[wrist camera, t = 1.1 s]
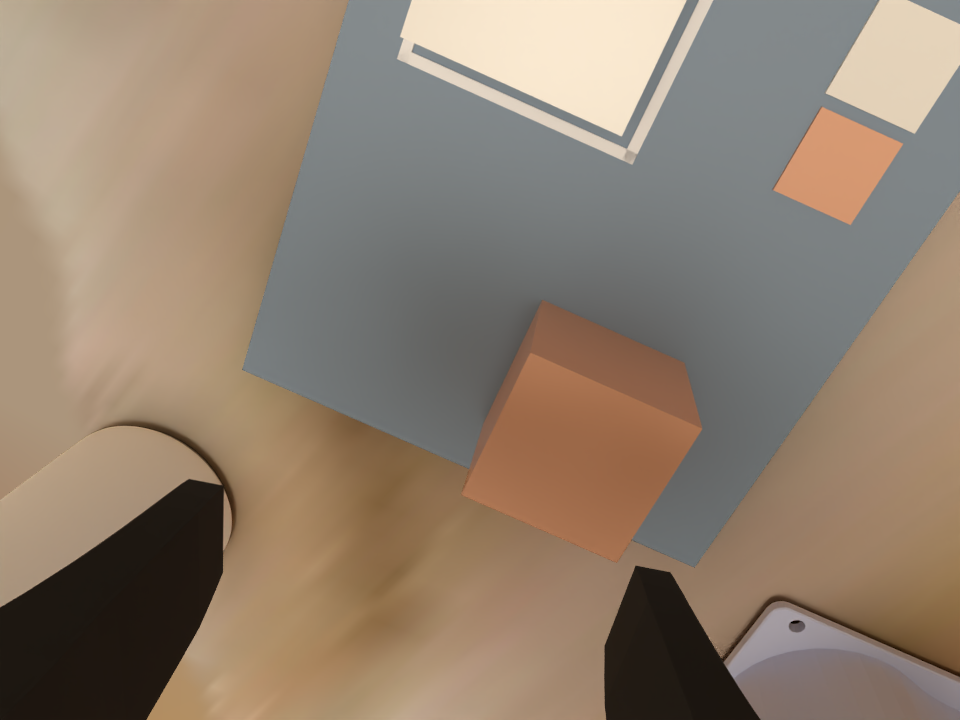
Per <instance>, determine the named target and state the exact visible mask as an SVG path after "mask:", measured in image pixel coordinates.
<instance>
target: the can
mask: <svg viewBox="0 0 960 720" xmlns="http://www.w3.org/2000/svg"><path fill="white" fill-rule="evenodd" d="M188 479H192V480H198V481H203V482H208V483H213V484H218V485H222V483H221V481H220V479H219V478H218V476H217V475H216V473H215V472H214V470H213V469H212V468H211V466H210V465H209V464H208V463H207V462H206V461H205V460H204V459H203V458H202V457H201V456H200V455H199V454H198V453H197V452H196V451H194V450H193V449H192V448H190V447H189V446H188V445H186V444H185V443H183V442H181V441H179V440H178V439H176V438H174V437H172V436H169V435H167V434H164V433H161V432H158V431H155V430H151V429H147V428H142V427H136V426H114V427H109V428H105V429H101V430H98V431H96V432H94V433H91V434H90V435H88V436H86V437H85V438H83V439H81V440H80V441H79V442H77V443H76V444H74V445H73V446H72V447H71V448H69V449H68V450H67V451H65V452H64V453H62V454H61V455H59V456H58V457H57V458H55V459H54V460H53V461H52V462H50V463H49V464H47V465H46V466H45V467H43V468H42V469H41V470H39V471H38V472H37V473H35V474H34V475H33V476H32V477H30V478H29V479H27V480H26V481H25V482H23V483H22V484H21V485H20V486H18V487H17V488H15V489H14V490H13V491H11V492H10V493H9V494H8V495H6V496H5V497H3V498H2V499H1V500H0V607H1V606H3V605H5V604H6V603H8V602H10V601H12V600H13V599H15V598H17V597H18V596H20V595H22V594H23V593H25V592H27V591H28V590H30V589H31V588H33V587H34V586H36V585H38V584H39V583H41V582H42V581H44V580H45V579H47V578H48V577H50V576H52V575H53V574H55V573H56V572H58V571H59V570H61V569H63V568H64V567H66V566H67V565H69V564H70V563H72V562H73V561H75V560H76V559H78V558H79V557H81V556H82V555H84V554H85V553H87V552H88V551H89V550H91V549H92V548H94V547H95V546H97V545H98V544H99V543H101V542H102V541H104V540H105V539H107V538H108V537H109V536H111V535H112V534H114V533H115V532H117V531H118V530H119V529H121V528H122V527H123V526H125V525H126V524H128V523H129V522H130V521H132V520H133V519H134V518H136V517H137V516H139V515H140V514H141V513H143V512H144V511H145V510H147V509H148V508H149V507H151V506H152V505H153V504H155V503H156V502H157V501H159V500H160V499H161V498H163V497H164V496H165V495H167V494H168V493H169V492H171V491H172V490H173V489H175V488H176V487H177V486H179V485H180V484H182V483H183V482H185V481H186V480H188ZM231 529H232V515H231V508H230V504H229V501H228V498H227V495H226V492H225V490H224V521H223V551H224V549H225V548H226V546H227V543H228V541H229V538H230V534H231Z"/></svg>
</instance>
